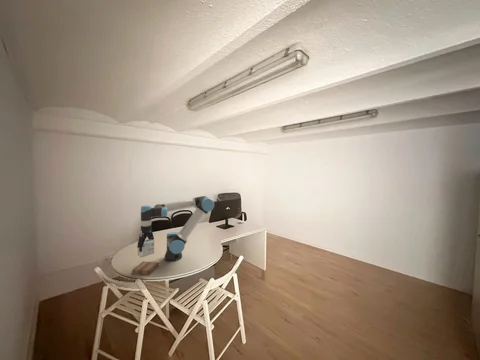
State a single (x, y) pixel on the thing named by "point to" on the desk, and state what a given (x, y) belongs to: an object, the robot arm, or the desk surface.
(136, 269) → the block
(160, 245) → the desk surface
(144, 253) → the light bulb box
